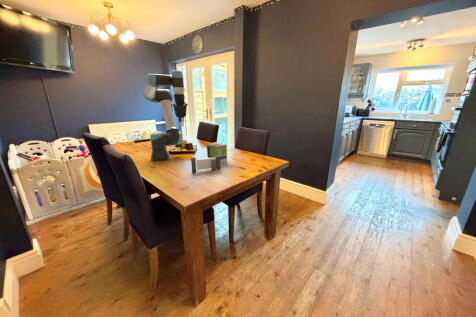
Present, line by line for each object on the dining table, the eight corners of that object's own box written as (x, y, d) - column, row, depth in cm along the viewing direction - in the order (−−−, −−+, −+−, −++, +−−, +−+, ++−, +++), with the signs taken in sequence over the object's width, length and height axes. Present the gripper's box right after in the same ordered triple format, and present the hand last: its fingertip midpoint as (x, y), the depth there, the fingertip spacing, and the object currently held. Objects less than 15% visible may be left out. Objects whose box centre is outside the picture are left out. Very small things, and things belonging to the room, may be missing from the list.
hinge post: (191, 171, 138) (190, 157, 135) (196, 171, 140) (195, 156, 136) (192, 173, 135) (191, 158, 132) (197, 172, 136) (196, 158, 133)
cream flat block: (197, 170, 137) (197, 160, 135) (197, 169, 139) (196, 159, 137) (216, 167, 142) (215, 157, 140) (215, 166, 144) (214, 157, 142)
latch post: (215, 168, 145) (215, 155, 142) (219, 167, 146) (219, 155, 143) (217, 169, 142) (216, 156, 139) (220, 169, 143) (220, 156, 141)
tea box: (227, 161, 161) (227, 144, 156) (218, 164, 154) (217, 146, 150) (216, 158, 171) (215, 141, 167) (207, 160, 164) (206, 143, 160)
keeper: (211, 170, 141) (210, 159, 139) (215, 169, 142) (215, 159, 140) (211, 170, 140) (211, 160, 138) (216, 170, 141) (215, 159, 139)
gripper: (174, 93, 132) (178, 127, 139) (189, 93, 143) (191, 125, 150) (168, 93, 137) (171, 126, 144) (182, 94, 147) (185, 125, 154)
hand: (181, 126), depth 147 cm, fingers closed
